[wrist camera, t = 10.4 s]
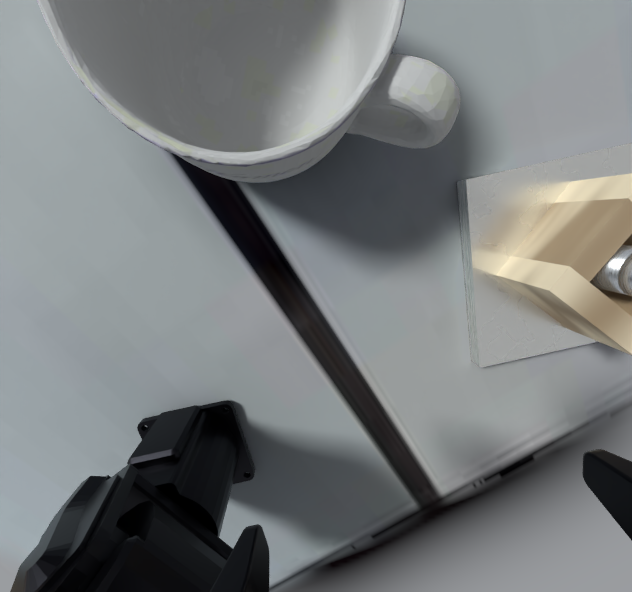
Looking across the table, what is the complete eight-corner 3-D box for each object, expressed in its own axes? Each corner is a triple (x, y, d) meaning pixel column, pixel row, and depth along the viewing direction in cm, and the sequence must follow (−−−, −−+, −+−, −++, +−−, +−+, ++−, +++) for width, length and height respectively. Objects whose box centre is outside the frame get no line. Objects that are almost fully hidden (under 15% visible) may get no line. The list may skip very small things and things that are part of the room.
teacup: (117, 105, 16) (-59, -4, 8) (226, -106, 14) (133, -520, 6) (329, 258, 18) (351, 286, 11) (444, 98, 16) (573, -8, 9)
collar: (642, 244, 18) (734, 251, 14) (567, 328, 19) (634, 356, 15) (571, 181, 17) (651, 170, 13) (495, 275, 18) (549, 290, 14)
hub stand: (638, 323, 21) (777, 366, 15) (471, 360, 21) (541, 418, 15) (654, 138, 18) (838, 96, 12) (456, 181, 18) (538, 162, 12)
